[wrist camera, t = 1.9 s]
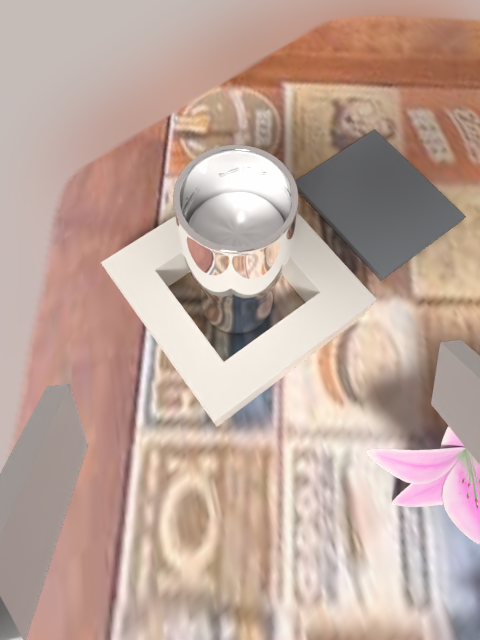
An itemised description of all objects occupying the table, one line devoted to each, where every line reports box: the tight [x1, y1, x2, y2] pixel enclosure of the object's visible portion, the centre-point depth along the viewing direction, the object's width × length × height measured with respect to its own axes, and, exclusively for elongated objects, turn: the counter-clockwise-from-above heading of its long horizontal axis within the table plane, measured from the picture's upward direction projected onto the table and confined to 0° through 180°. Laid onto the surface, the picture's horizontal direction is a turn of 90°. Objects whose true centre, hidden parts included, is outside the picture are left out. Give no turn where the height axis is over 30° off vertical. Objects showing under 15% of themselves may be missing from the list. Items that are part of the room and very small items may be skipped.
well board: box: [101, 212, 377, 427], centre depth 35 cm, size 15×15×4 cm
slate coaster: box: [295, 130, 466, 280], centre depth 39 cm, size 10×12×1 cm
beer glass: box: [173, 145, 299, 334], centre depth 30 cm, size 7×7×15 cm
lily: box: [366, 426, 480, 544], centre depth 29 cm, size 12×12×10 cm
